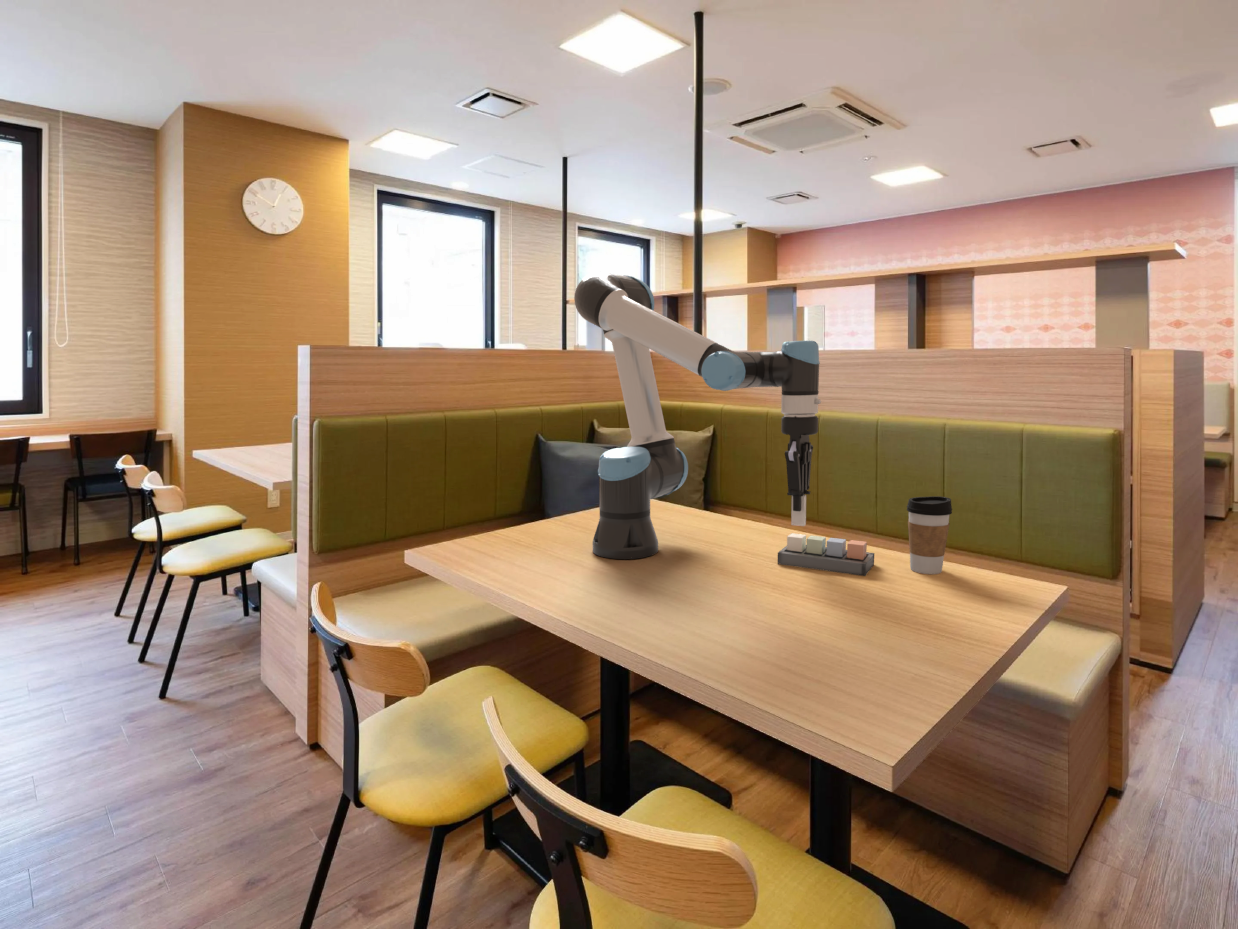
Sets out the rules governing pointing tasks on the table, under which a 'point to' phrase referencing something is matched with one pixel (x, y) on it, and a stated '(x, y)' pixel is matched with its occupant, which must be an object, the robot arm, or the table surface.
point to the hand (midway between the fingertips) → (798, 524)
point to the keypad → (826, 561)
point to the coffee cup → (928, 532)
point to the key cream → (796, 542)
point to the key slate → (836, 547)
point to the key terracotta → (856, 549)
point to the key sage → (816, 544)
